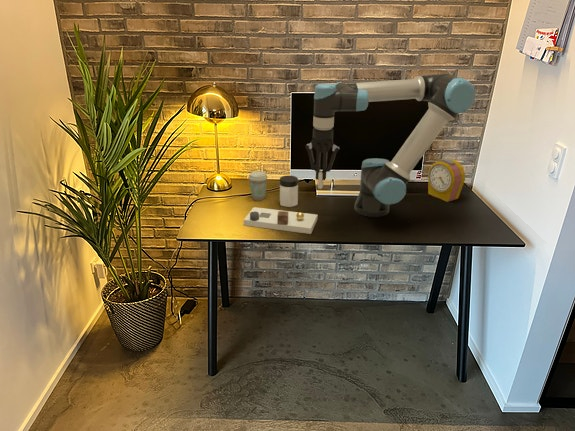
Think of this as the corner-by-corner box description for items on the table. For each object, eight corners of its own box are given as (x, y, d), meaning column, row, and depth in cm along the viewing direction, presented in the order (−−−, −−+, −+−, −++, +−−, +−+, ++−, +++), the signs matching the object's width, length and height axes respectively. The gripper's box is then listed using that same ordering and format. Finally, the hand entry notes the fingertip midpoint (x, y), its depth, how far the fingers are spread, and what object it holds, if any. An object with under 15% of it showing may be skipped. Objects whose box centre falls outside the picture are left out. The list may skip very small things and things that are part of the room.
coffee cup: (250, 202, 207) (250, 177, 202) (247, 195, 214) (247, 171, 209) (269, 200, 209) (269, 176, 204) (265, 193, 216) (265, 170, 211)
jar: (285, 208, 201) (285, 183, 196) (275, 202, 207) (275, 177, 202) (301, 204, 206) (302, 179, 200) (291, 198, 212) (292, 174, 207)
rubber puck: (260, 217, 187) (260, 212, 186) (257, 221, 184) (257, 215, 183) (251, 216, 188) (251, 211, 187) (248, 220, 185) (248, 214, 184)
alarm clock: (424, 192, 219) (429, 156, 211) (435, 189, 223) (441, 153, 215) (449, 203, 208) (456, 165, 200) (461, 199, 212) (468, 162, 204)
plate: (317, 220, 191) (317, 214, 190) (310, 233, 180) (311, 228, 179) (253, 212, 197) (253, 207, 196) (243, 225, 186) (243, 219, 185)
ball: (304, 218, 187) (304, 211, 185) (302, 221, 184) (303, 214, 182) (297, 217, 187) (297, 210, 186) (295, 220, 185) (295, 213, 183)
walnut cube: (288, 220, 185) (288, 211, 183) (287, 224, 181) (287, 215, 179) (278, 220, 185) (278, 211, 183) (277, 224, 181) (277, 215, 180)
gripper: (342, 126, 169) (338, 185, 179) (308, 123, 172) (306, 182, 182) (339, 131, 162) (335, 192, 173) (303, 128, 165) (301, 189, 176)
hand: (320, 187), depth 177 cm, fingers closed
